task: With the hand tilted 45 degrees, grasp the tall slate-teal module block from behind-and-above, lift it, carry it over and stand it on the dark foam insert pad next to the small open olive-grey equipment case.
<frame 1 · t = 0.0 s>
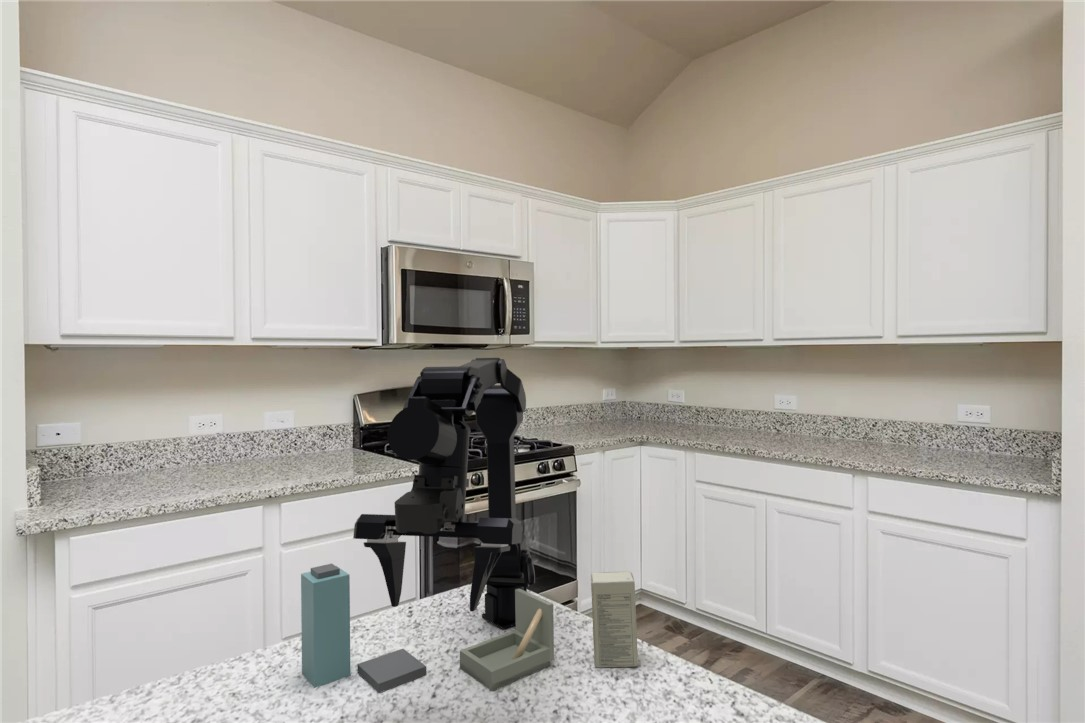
hand: (433, 608, 67), 15 cm above the countertop, tool pointing down, fingers open, 9 cm apart
foam pad: (391, 673, 83), on the countertop
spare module: (326, 674, 83), on the countertop
equipment case: (504, 666, 85), on the countertop
skincare box: (614, 662, 86), on the countertop
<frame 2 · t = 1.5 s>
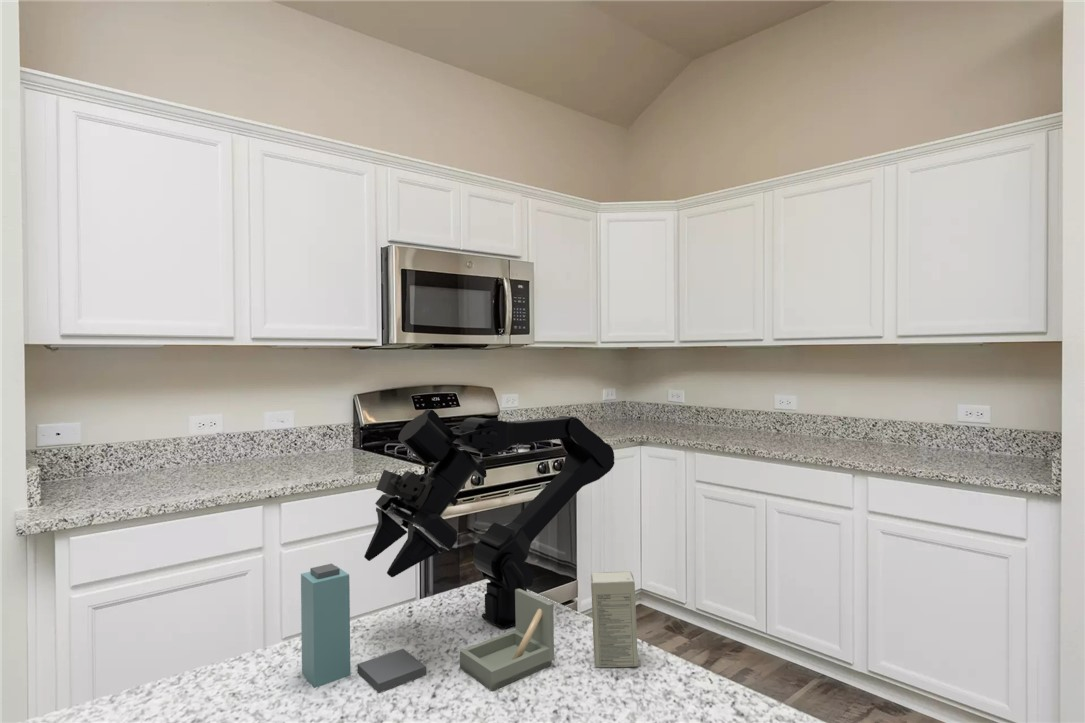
hand: (377, 567, 88), 13 cm above the countertop, tool tilted 45°, fingers open, 9 cm apart
nothing on the countertop moved.
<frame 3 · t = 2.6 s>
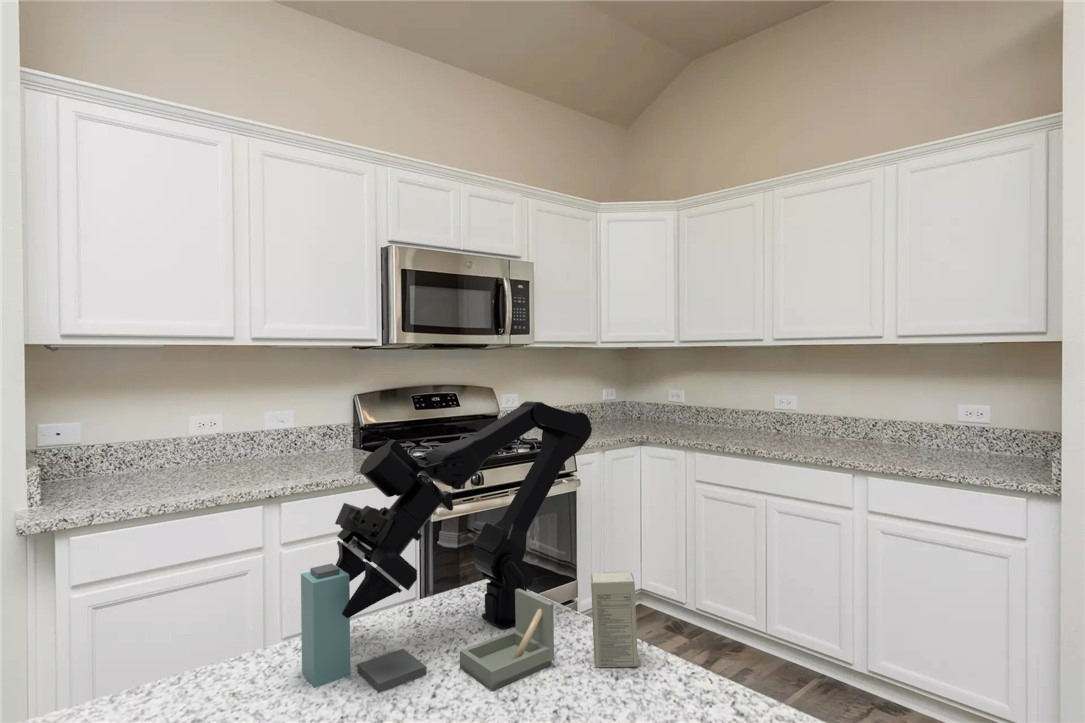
hand: (334, 605, 84), 9 cm above the countertop, tool tilted 45°, fingers open, 9 cm apart
nothing on the countertop moved.
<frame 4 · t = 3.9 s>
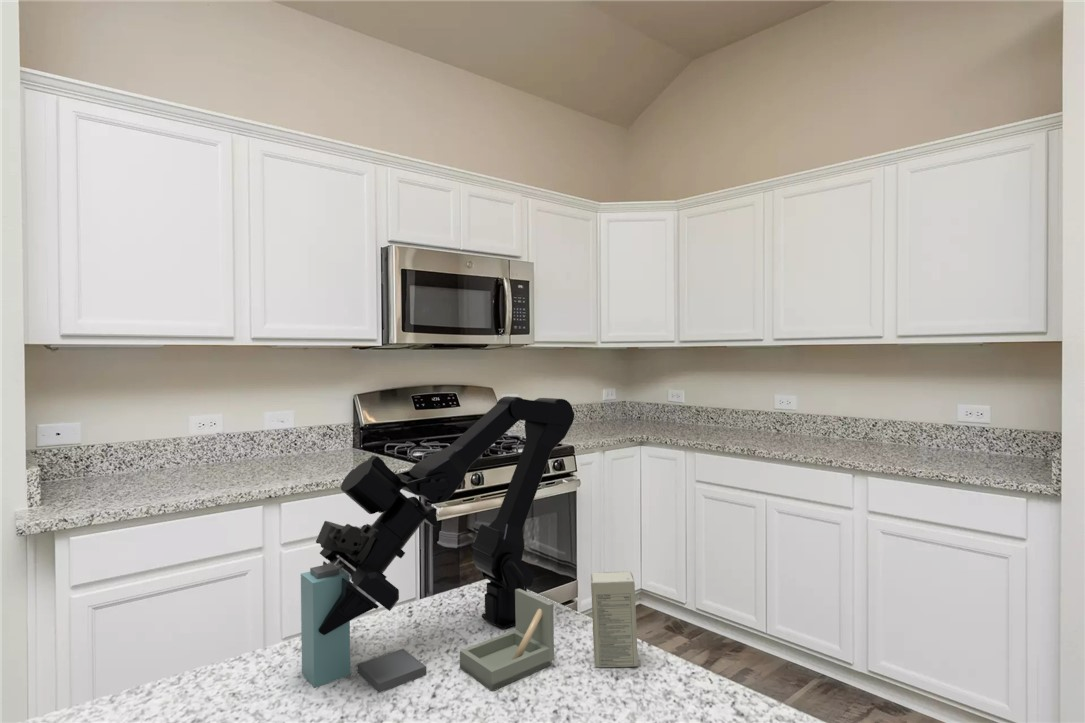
hand: (315, 626, 83), 7 cm above the countertop, tool tilted 45°, fingers closed on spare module, 5 cm apart
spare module: (326, 674, 83), on the countertop, touching gripper
everything else where it was.
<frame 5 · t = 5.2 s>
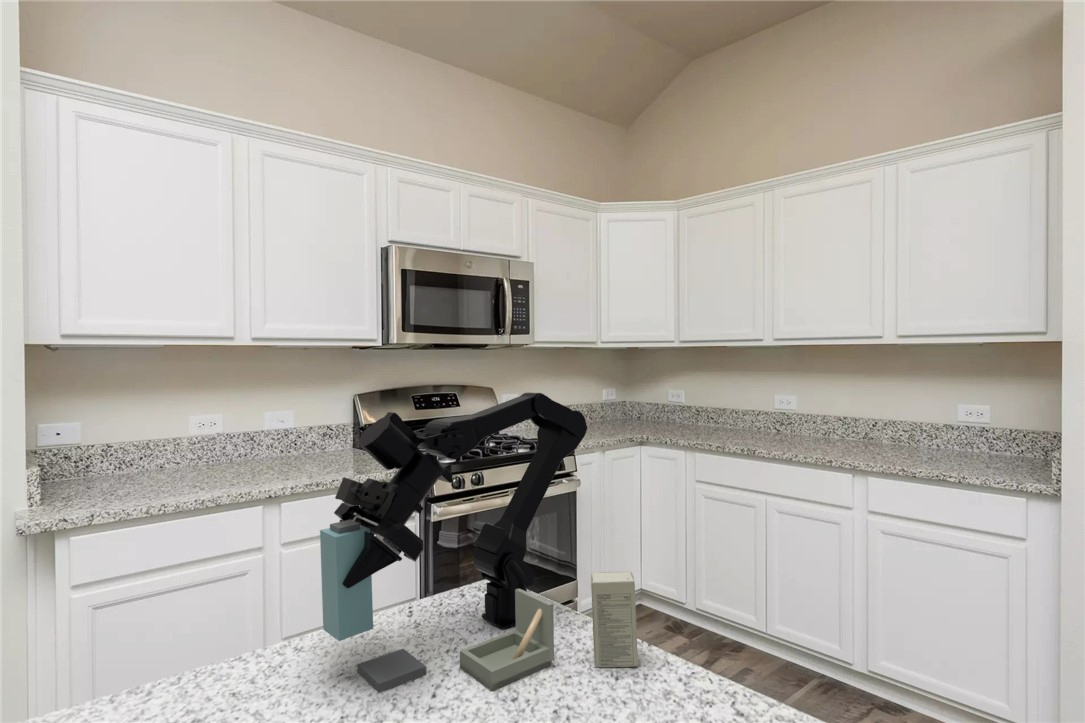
hand: (337, 581, 82), 13 cm above the countertop, tool tilted 45°, fingers closed on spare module, 5 cm apart
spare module: (348, 629, 83), point 6 cm above the countertop, touching gripper
everything else where it was.
when the fingers open (10 cm above the countertop, at t = 6.9 s): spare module drops 1 cm, resting on foam pad.
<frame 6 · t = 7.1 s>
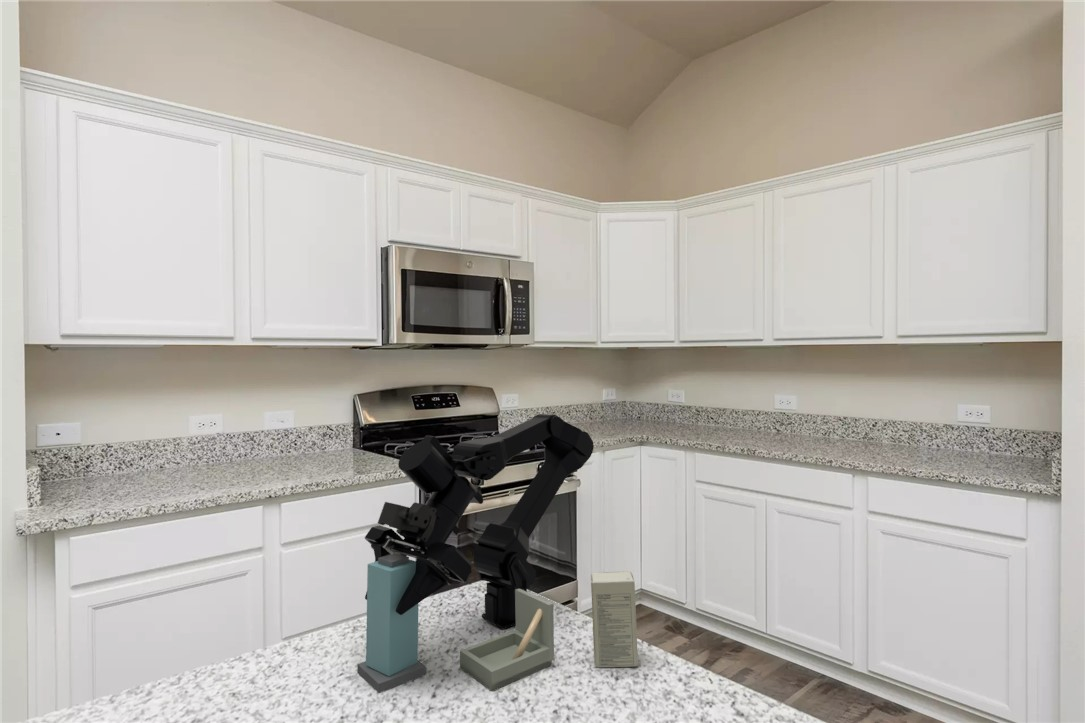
hand: (382, 606, 82), 10 cm above the countertop, tool tilted 45°, fingers open, 7 cm apart
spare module: (391, 663, 83), point 1 cm above the countertop, touching foam pad
everything else where it was.
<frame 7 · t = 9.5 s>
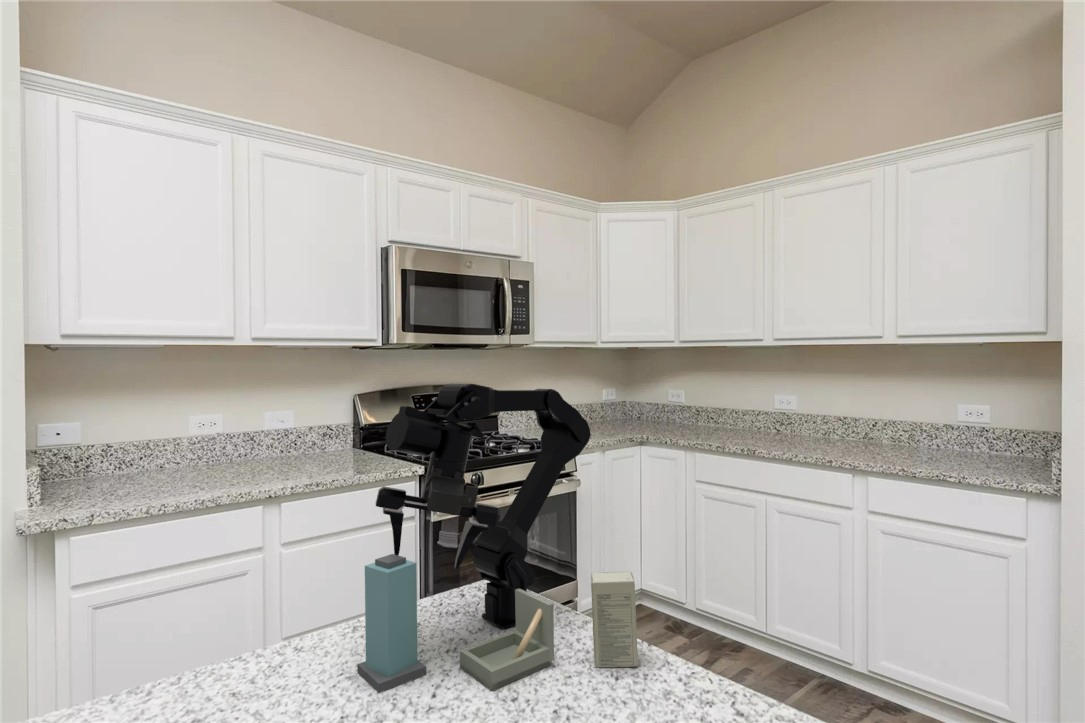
hand: (426, 564, 90), 13 cm above the countertop, tool tilted 15°, fingers open, 9 cm apart
nothing on the countertop moved.
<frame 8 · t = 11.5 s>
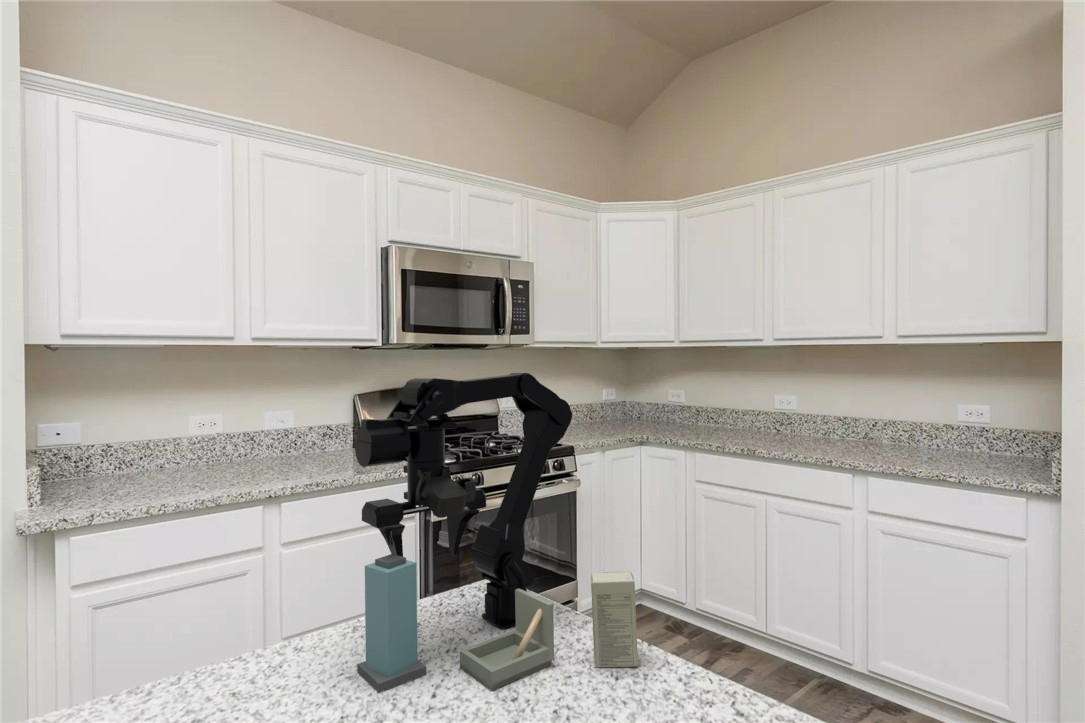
hand: (427, 561, 92), 13 cm above the countertop, tool pointing down, fingers open, 9 cm apart
nothing on the countertop moved.
at the end: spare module inside the target area on the foam pad (0.1 cm from its centre), point 1.2 cm above the foam pad's base; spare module tilted 0°; the gripper is holding nothing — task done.
